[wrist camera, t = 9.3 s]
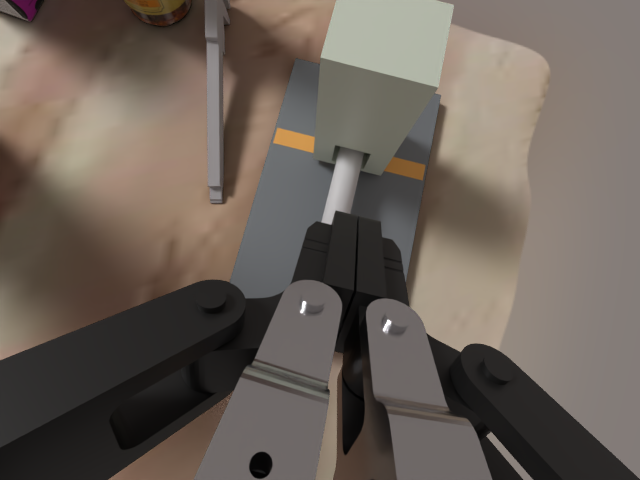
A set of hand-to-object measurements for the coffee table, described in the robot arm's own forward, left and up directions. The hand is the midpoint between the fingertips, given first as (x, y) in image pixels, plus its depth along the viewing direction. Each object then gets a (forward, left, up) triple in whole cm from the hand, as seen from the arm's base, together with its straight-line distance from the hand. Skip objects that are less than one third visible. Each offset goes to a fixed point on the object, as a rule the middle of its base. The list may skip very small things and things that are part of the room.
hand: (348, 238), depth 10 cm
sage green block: (0, +12, -15) cm, 19 cm away
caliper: (-13, +13, -17) cm, 25 cm away
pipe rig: (0, +7, -16) cm, 18 cm away
